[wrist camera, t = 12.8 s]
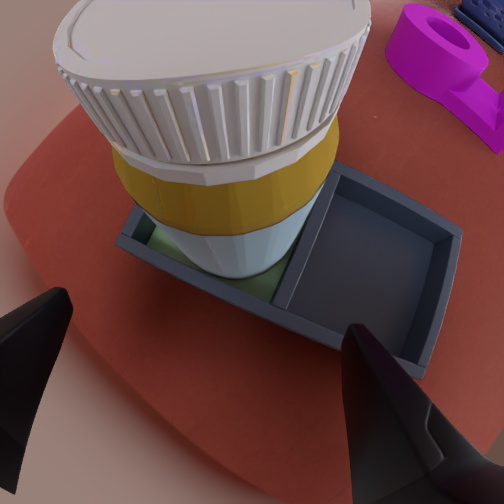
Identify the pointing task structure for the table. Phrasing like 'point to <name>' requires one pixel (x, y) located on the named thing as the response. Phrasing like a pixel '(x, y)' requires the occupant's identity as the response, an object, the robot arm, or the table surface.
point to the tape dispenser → (447, 69)
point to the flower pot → (484, 20)
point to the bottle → (217, 113)
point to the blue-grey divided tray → (339, 268)
